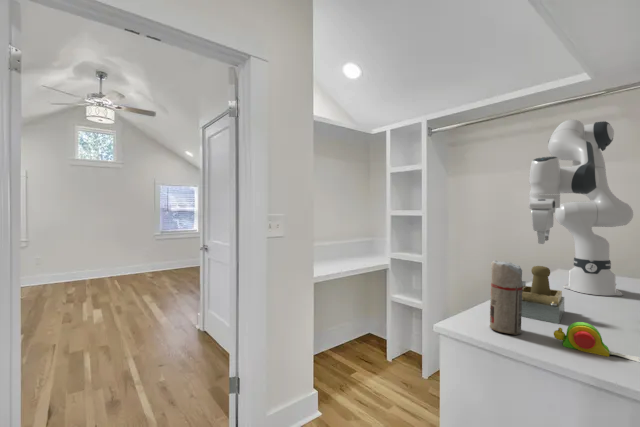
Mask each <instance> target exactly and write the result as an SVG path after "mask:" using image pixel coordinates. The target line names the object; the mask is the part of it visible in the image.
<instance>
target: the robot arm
mask: <svg viewBox="0 0 640 427" xmlns="http://www.w3.org/2000/svg"><path fill="white" fill-rule="evenodd" d="M614 135H615V130H614V127H613V126H612V125H611V124H610V123H609V122H608V121H606V120H603V121H596V122H594V123H588V124H583V122H582V121H580V120H577V119H567V120H564V121H562V122H561V123H560V124H558V126H557V127H556V128H555V129H554V131H553V132H552V134H551V136H550V138H549V139H548V141H547V143H548V144H547V151H548V152H549V154H550V155H551V156H542V157H538V158H534V159H532V160H531V163H530V167H529V175H528V176H529V181H528V183H529V186H530V190H529V194H528V208H529V209H530V212H531V214H530V215H531V216H530V217H531V223H532V224H531V225H532V231H533V232H536V235H537V243H538V244H539V245H544V244H545V243H546V242H548V241H549V239H550V230H551V228H554V218H555V220H556V221H557V222H558V223H559V224H560V225H561V226H562V227H563V228H565V229H567V230H568V232H569V233H570V235H571V236H572V238H573V243H574V244H573V245H574V257H573V260H572V261H573V267H572V268H570V269H569V271H568V274H569V275H568V283H567V284H564V285H563V288H564V289H567V290H571V291H574V292H578V293H581V294H587V295H594V296H608V297H609V296H610V297H611V296H618V297H620V296H623V292H621V291H620V290H618V289H617V288H616V287H617V283H616V280H617V279H616V274H614V272H612V270H611V269H612V261H611V260H610V242H609V241H608V240H607V239H606V238H605V237H603V236H600V235H598V234H596V233H594V231H593V227H594V228H595V227H597V228H614V227H621V226H626V225H628V224H630V223H631V221H632V219H633V218H634V210H633V208H632V207H631V205H630V204H628V203H627V202H624V201H623V200H621V199H619V198H618V197H617V196H616V195H615V194H614V193H613V191H612V190H611V189H610V187H609V183H608V179H607V177H608V176H607V172H606V171H607V170H606V164H605V163H606V162H605V159H604V154H603V151H606V149H607V147H609V146H610V145H611V144H612V142H613V141H614V137H615V136H614ZM559 161H572V165H571V166H560V162H559ZM561 194H579V195H580V194H581V195H584V196H586V197H587V198H588V199H589V200H590V201H586V200H585V201H568V202H564V203H561Z"/></svg>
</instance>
